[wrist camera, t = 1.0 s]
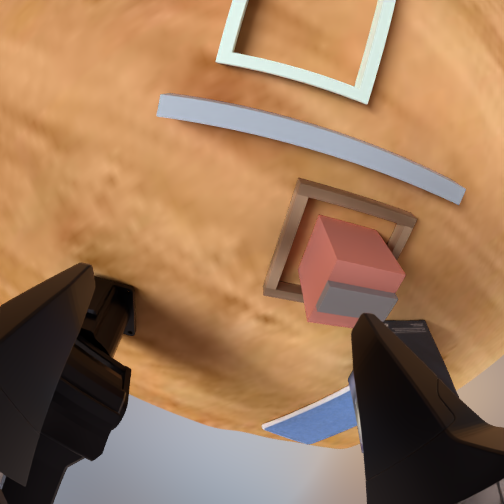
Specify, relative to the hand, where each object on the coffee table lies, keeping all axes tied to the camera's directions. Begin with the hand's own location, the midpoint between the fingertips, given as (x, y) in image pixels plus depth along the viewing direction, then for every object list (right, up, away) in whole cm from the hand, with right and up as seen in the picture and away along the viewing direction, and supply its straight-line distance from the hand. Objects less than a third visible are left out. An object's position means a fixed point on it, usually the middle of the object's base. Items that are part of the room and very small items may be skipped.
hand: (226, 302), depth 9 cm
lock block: (+7, +2, +14) cm, 16 cm away
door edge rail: (+6, +9, +9) cm, 14 cm away
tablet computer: (+13, -22, +29) cm, 39 cm away
